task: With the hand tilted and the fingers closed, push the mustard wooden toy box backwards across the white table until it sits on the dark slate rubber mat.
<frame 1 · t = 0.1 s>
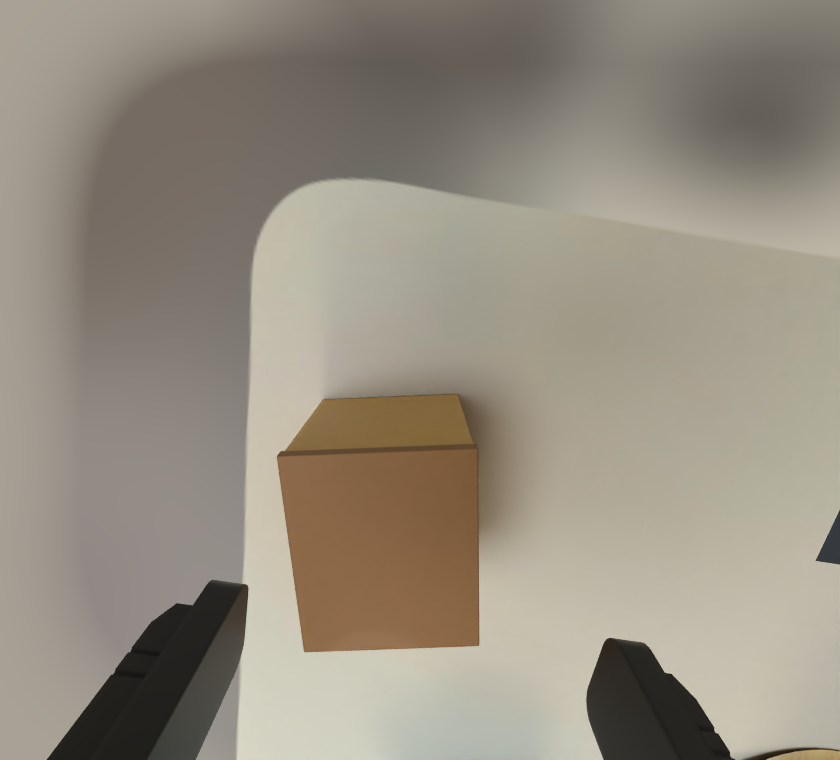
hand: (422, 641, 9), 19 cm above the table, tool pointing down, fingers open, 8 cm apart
toy box: (394, 471, 29), on the table
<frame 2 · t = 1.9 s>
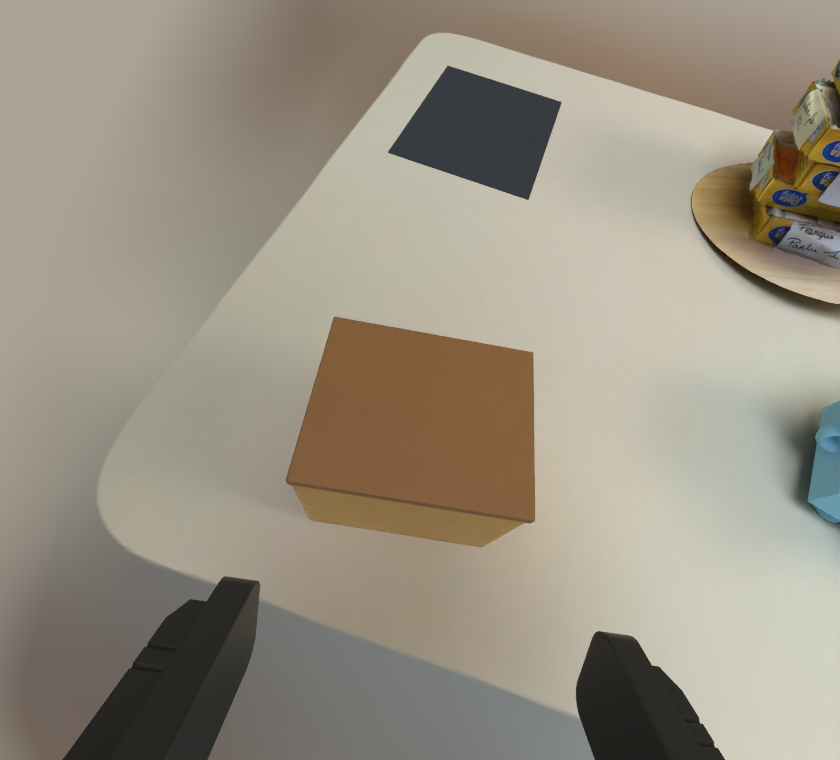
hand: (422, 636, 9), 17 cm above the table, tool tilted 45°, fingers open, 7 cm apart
toy box: (406, 465, 29), on the table
mat: (483, 125, 51), on the table
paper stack: (796, 239, 47), on the table
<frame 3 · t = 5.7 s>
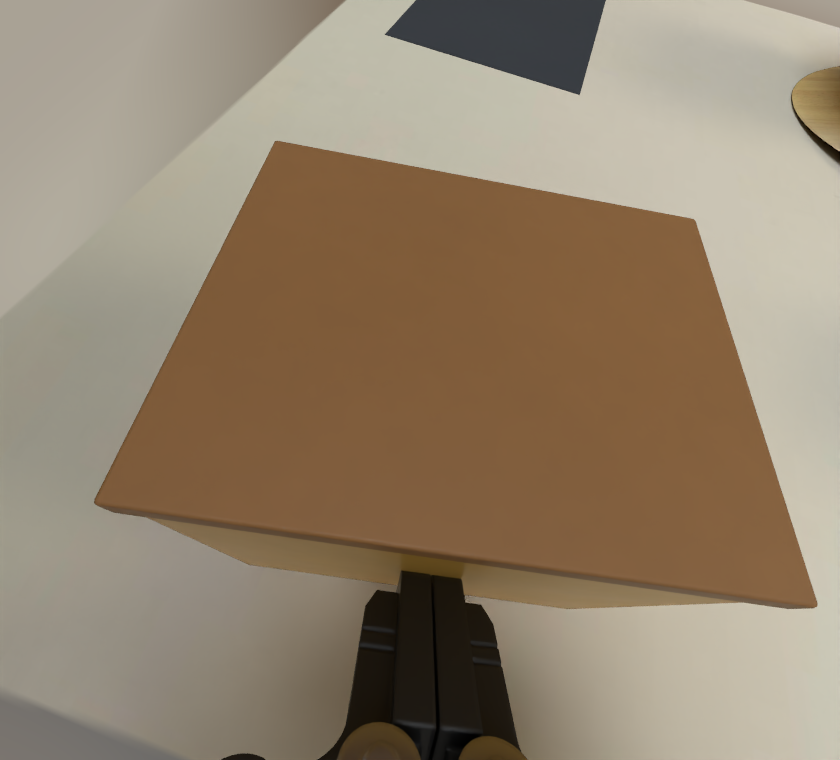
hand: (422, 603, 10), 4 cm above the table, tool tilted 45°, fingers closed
toy box: (425, 460, 16), on the table, touching gripper
mat: (510, 13, 38), on the table
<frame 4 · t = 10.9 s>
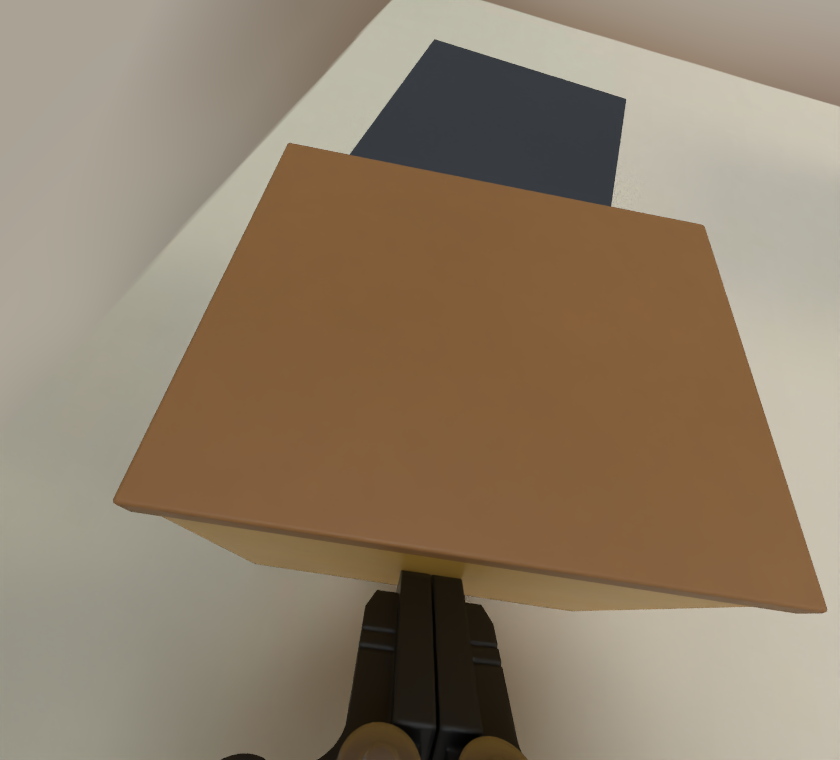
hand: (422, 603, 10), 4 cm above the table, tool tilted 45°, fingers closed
toy box: (430, 461, 16), on the table, touching gripper
mat: (498, 143, 28), on the table
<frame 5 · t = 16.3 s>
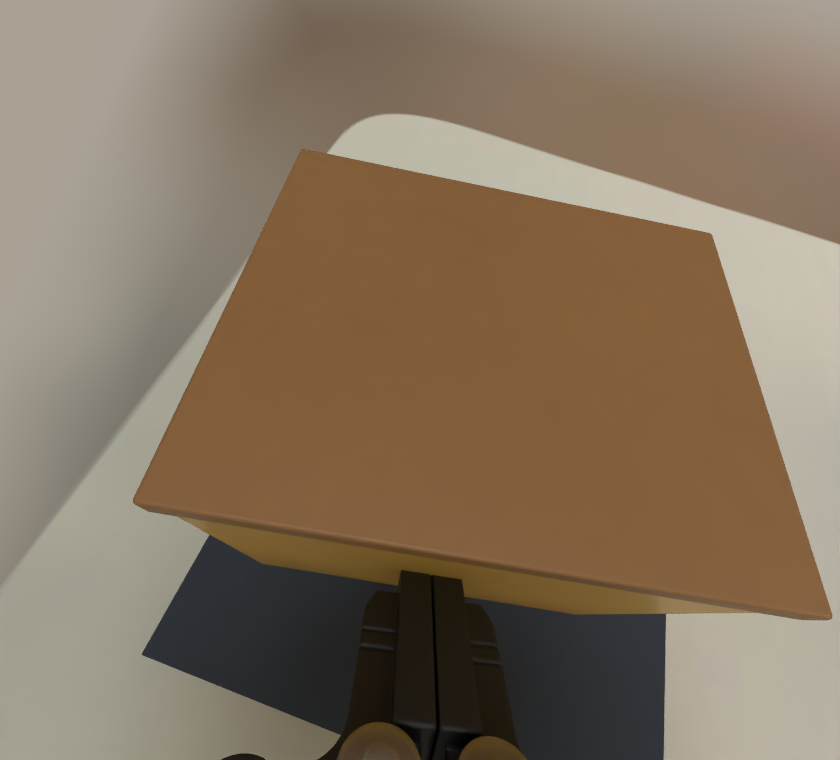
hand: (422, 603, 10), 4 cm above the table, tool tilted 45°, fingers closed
toy box: (436, 463, 17), resting on mat, touching gripper
mat: (482, 428, 18), on the table
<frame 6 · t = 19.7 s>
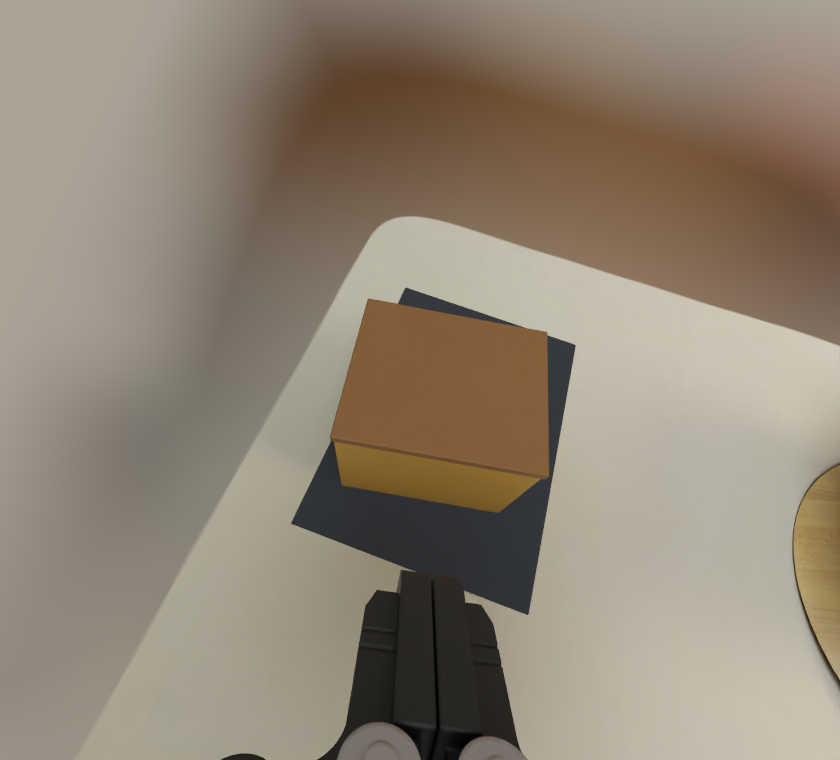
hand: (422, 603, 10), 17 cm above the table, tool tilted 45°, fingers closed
toy box: (428, 439, 31), resting on mat
mat: (455, 421, 32), on the table
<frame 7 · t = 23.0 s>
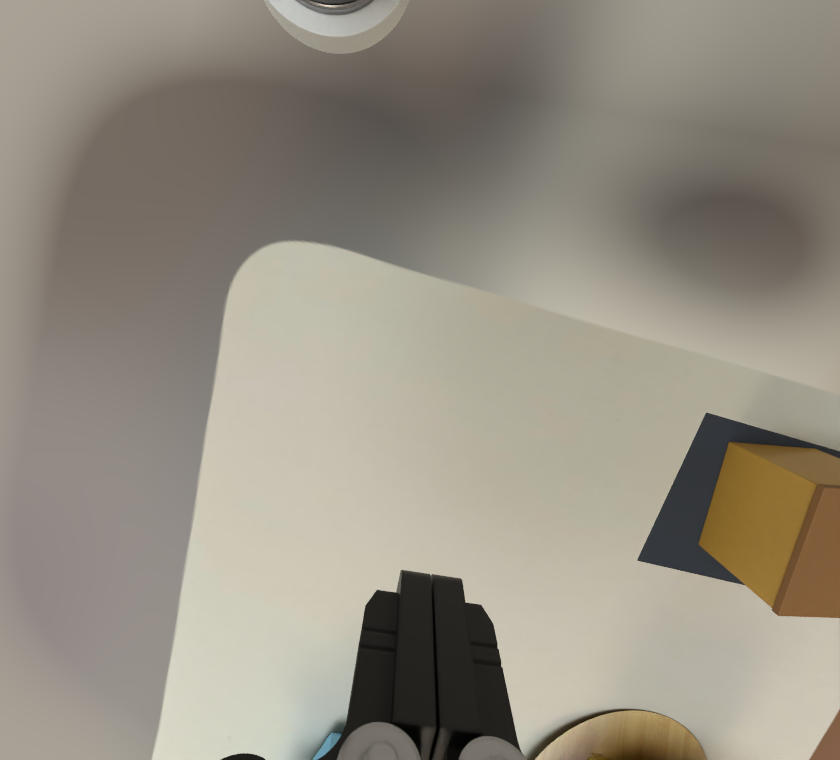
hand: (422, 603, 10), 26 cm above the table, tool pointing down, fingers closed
toy box: (755, 497, 41), resting on mat
mat: (765, 513, 42), on the table
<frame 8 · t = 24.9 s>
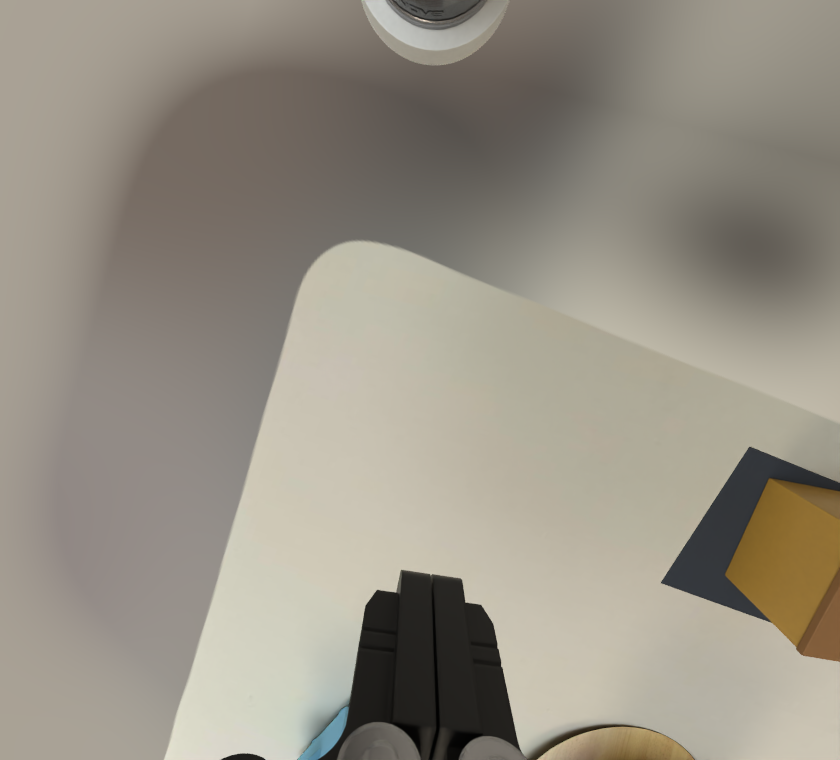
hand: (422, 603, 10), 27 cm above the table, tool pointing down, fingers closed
toy box: (788, 535, 41), resting on mat
mat: (797, 553, 42), on the table
teapot: (358, 742, 48), on the table
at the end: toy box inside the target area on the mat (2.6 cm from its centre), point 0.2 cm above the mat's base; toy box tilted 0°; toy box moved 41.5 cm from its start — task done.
